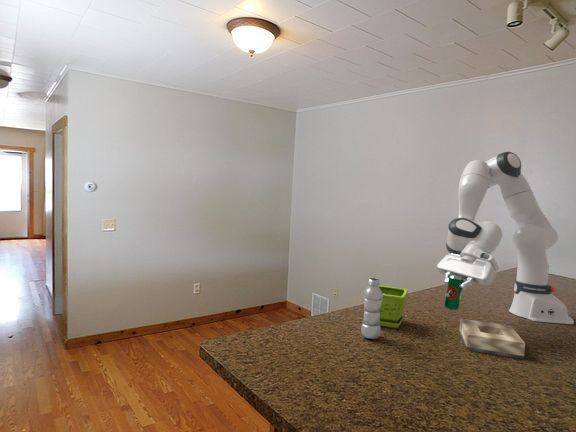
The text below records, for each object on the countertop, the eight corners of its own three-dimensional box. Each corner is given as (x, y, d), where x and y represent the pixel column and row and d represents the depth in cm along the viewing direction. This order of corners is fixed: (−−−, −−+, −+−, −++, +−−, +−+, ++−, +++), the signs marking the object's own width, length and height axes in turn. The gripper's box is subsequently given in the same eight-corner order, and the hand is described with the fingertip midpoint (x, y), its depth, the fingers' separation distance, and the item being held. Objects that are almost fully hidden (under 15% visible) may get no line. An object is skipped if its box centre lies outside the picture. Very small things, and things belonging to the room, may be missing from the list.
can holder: (509, 339, 126) (510, 325, 126) (523, 359, 111) (525, 343, 110) (459, 332, 131) (460, 318, 130) (466, 349, 116) (467, 334, 115)
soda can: (460, 311, 127) (466, 278, 127) (446, 308, 128) (452, 275, 127) (455, 307, 132) (461, 275, 132) (441, 305, 133) (447, 273, 132)
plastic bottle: (381, 335, 124) (384, 278, 123) (379, 343, 118) (383, 282, 116) (362, 332, 126) (365, 276, 125) (359, 339, 120) (363, 280, 118)
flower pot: (406, 320, 140) (408, 288, 139) (401, 332, 128) (404, 297, 127) (370, 314, 146) (372, 283, 145) (362, 325, 133) (364, 291, 133)
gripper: (445, 247, 141) (426, 273, 137) (497, 257, 123) (476, 288, 119) (451, 257, 144) (433, 283, 140) (503, 269, 126) (483, 299, 122)
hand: (453, 285), depth 129 cm, fingers closed on soda can, 5 cm apart
